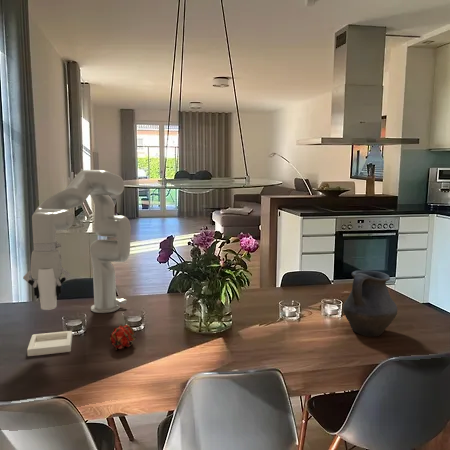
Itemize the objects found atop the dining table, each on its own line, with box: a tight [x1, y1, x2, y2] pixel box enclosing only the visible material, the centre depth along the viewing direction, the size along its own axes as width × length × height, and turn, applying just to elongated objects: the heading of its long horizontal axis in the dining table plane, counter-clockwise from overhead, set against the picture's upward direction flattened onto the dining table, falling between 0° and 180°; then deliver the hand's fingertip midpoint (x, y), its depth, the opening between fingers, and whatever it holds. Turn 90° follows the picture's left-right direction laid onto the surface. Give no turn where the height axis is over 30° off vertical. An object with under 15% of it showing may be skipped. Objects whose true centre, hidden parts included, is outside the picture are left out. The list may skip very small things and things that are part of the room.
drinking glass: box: [37, 268, 58, 311], centre depth 162 cm, size 7×7×15 cm
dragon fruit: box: [109, 324, 137, 351], centre depth 164 cm, size 8×8×12 cm
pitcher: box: [342, 269, 399, 338], centre depth 177 cm, size 21×22×25 cm
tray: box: [27, 330, 73, 357], centre depth 165 cm, size 14×14×2 cm
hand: (48, 296), depth 163 cm, fingers closed on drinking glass, 6 cm apart
